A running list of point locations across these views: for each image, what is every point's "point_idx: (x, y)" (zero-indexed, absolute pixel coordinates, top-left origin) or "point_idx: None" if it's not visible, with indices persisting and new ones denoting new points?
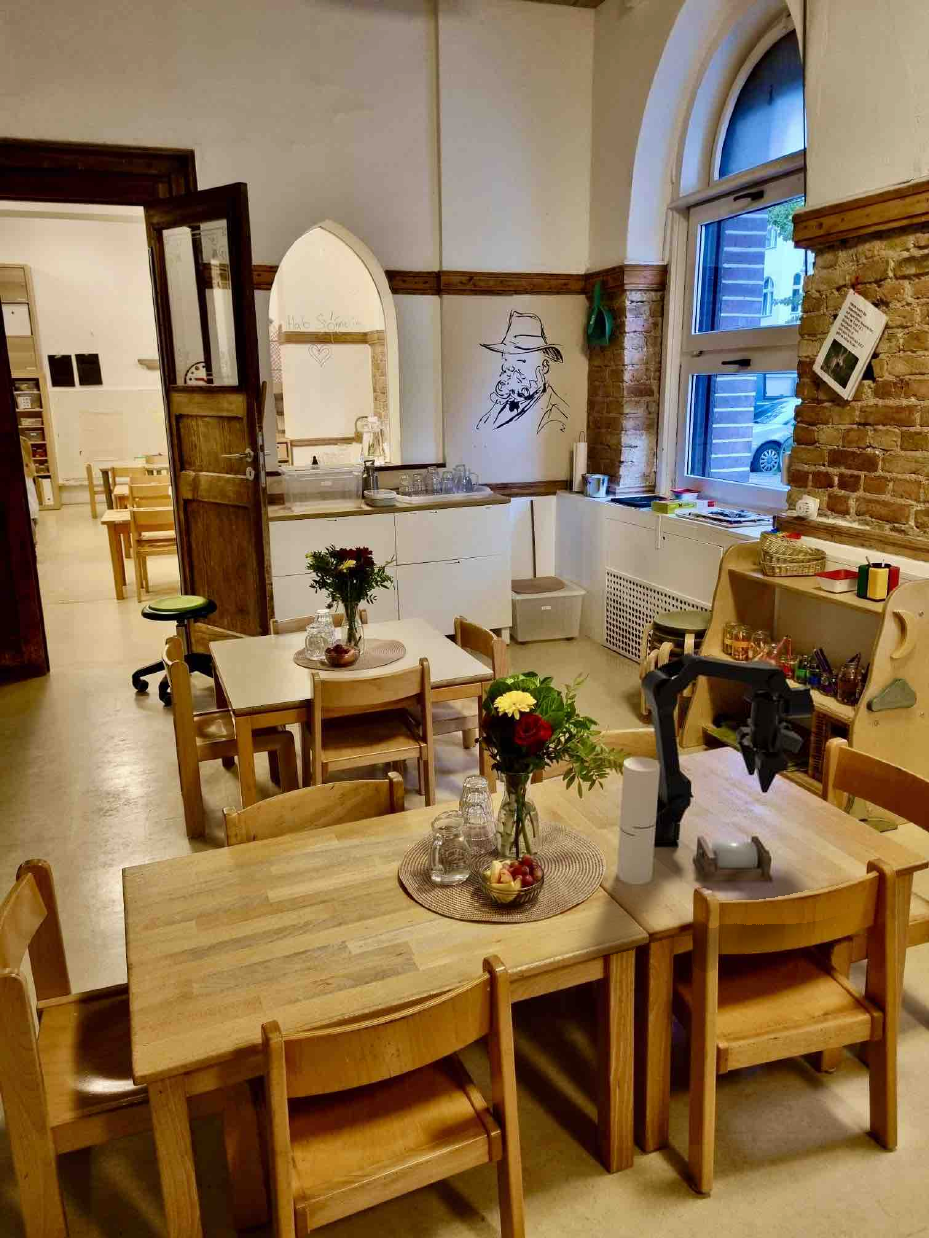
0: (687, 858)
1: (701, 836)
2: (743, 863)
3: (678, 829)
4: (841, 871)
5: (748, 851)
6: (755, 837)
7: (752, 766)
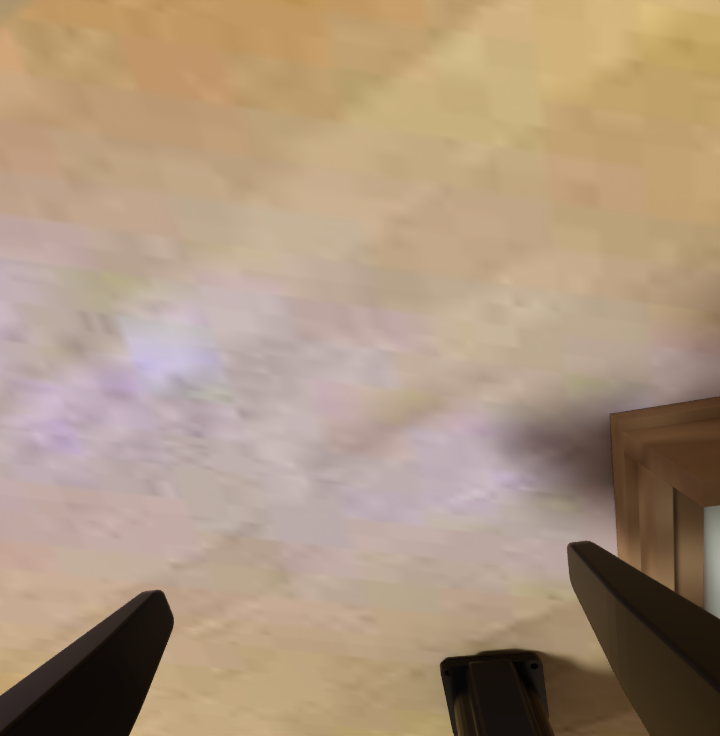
0: None
1: None
2: None
3: (529, 712)
4: (711, 38)
5: None
6: (718, 490)
7: (84, 716)
